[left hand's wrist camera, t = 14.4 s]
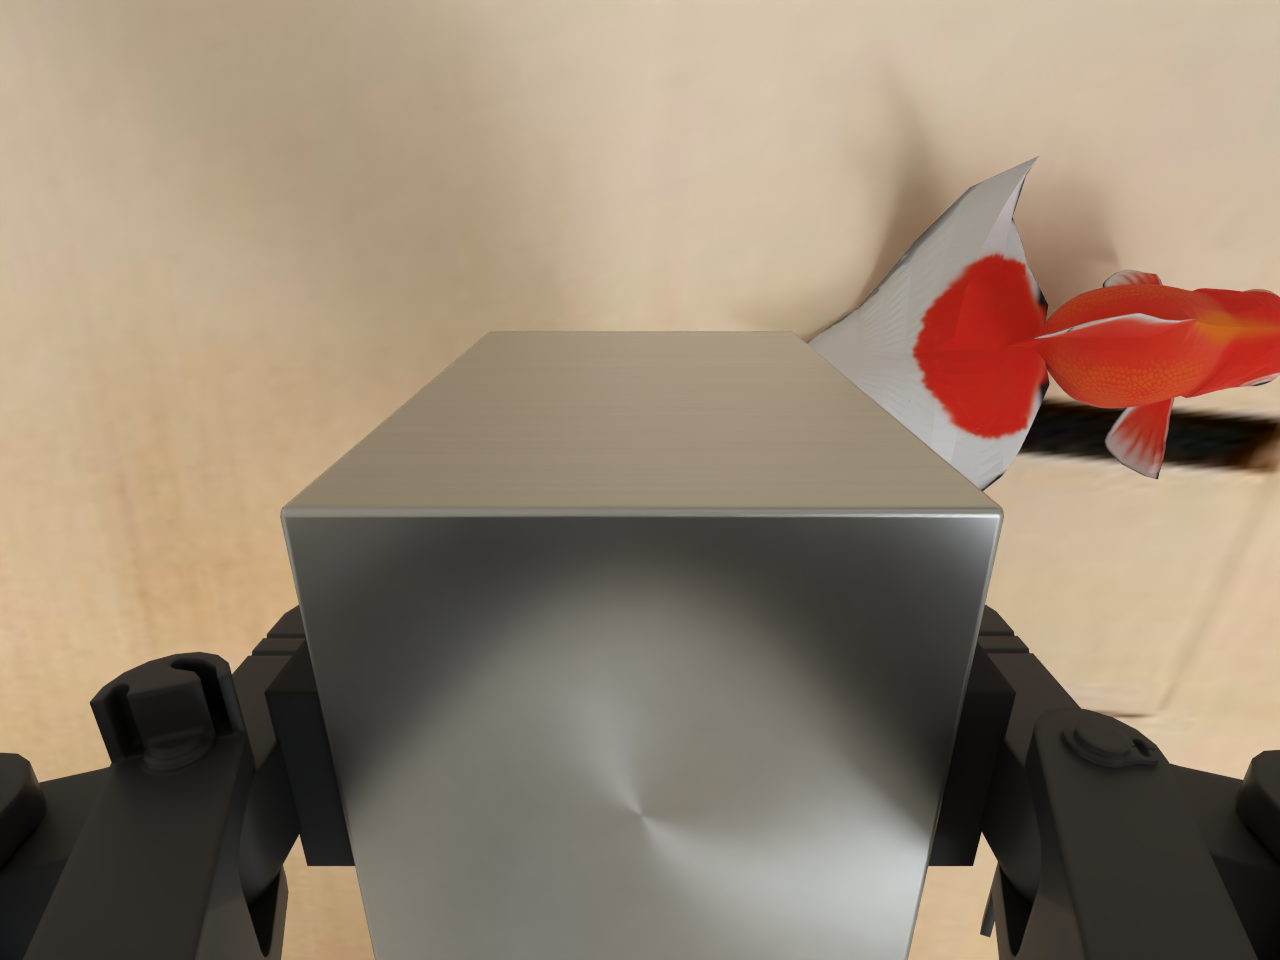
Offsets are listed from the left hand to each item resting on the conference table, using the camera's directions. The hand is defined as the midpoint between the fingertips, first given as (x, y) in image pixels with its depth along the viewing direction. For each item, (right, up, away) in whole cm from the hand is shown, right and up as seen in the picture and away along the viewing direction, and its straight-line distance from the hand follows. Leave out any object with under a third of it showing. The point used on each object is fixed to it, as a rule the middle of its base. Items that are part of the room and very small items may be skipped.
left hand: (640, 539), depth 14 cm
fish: (+13, +7, +14) cm, 20 cm away
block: (0, +1, +3) cm, 3 cm away
